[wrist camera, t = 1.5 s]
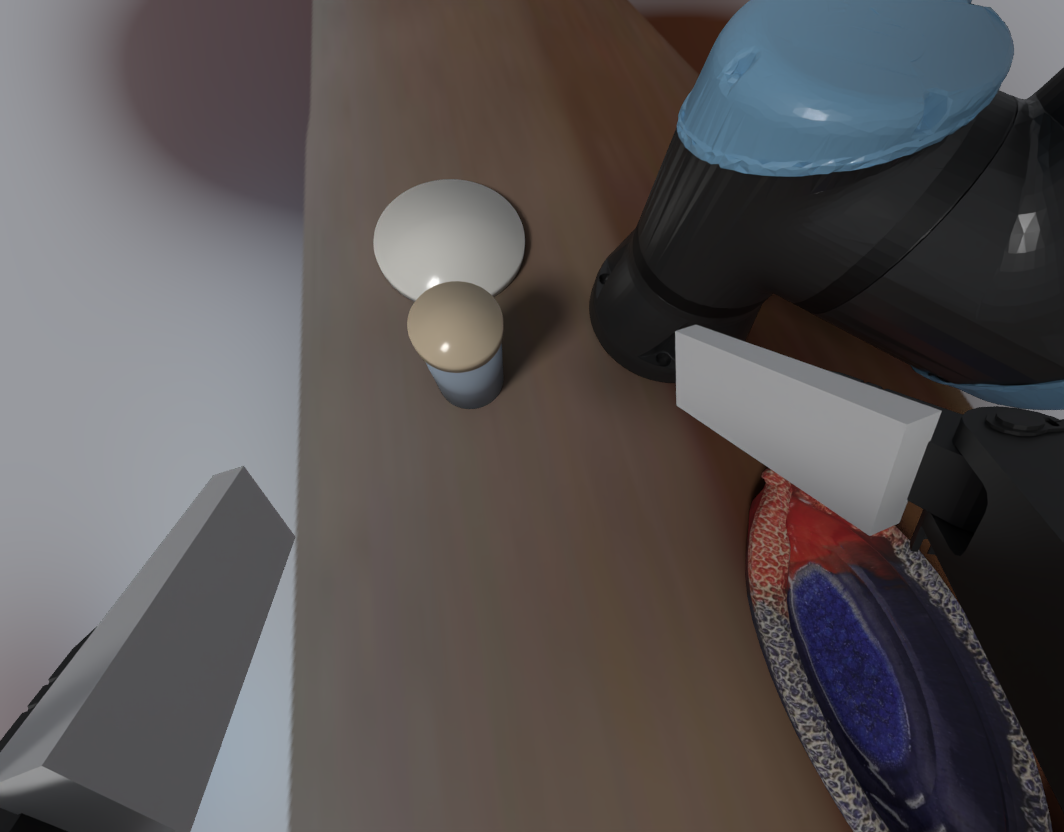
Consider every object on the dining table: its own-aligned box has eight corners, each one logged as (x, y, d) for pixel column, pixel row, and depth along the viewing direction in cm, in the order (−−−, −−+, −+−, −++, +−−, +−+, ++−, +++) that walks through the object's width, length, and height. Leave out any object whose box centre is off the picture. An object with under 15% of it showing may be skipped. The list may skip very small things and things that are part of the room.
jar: (485, 335, 37) (475, 267, 27) (518, 390, 35) (520, 339, 26) (424, 365, 36) (391, 304, 26) (455, 423, 34) (433, 382, 25)
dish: (855, 941, 26) (933, 1036, 21) (680, 492, 34) (708, 485, 29) (1039, 850, 28) (1151, 917, 23) (833, 445, 36) (883, 432, 31)
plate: (482, 169, 42) (481, 160, 42) (551, 271, 39) (552, 264, 38) (353, 219, 40) (349, 211, 39) (415, 333, 36) (413, 328, 35)
